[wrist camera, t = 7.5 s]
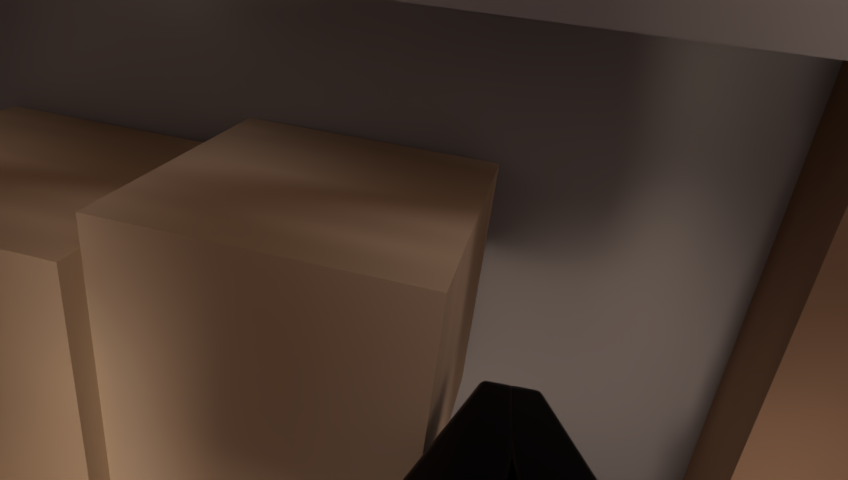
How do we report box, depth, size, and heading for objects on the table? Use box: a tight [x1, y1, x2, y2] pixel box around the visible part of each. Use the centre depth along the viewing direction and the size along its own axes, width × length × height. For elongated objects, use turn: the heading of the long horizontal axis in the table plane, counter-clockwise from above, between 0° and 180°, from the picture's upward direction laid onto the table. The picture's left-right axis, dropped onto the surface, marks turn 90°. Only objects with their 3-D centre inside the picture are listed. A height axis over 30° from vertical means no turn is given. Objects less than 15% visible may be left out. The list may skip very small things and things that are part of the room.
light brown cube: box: [0, 106, 204, 480], centre depth 10 cm, size 4×4×4 cm
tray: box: [0, 0, 848, 480], centre depth 11 cm, size 14×11×3 cm
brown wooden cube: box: [76, 118, 499, 480], centre depth 9 cm, size 4×4×4 cm
